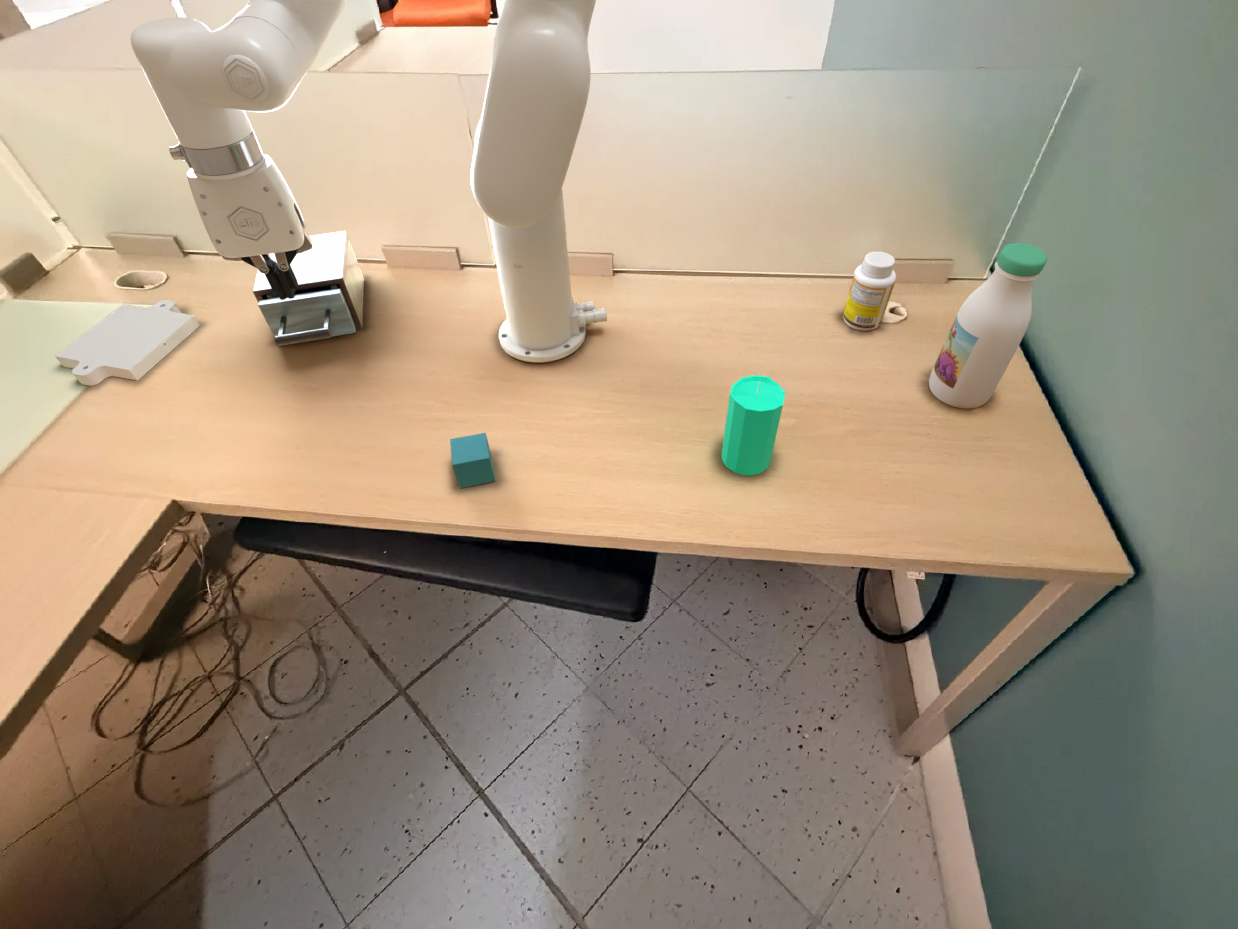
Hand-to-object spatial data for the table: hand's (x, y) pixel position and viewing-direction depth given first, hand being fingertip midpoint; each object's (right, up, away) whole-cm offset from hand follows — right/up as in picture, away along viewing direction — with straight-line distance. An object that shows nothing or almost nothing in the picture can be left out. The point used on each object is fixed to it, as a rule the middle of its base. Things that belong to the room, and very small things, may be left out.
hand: (288, 293), depth 87 cm
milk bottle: (+88, -13, -1) cm, 89 cm away
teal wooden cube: (+27, -24, -8) cm, 37 cm away
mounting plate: (-28, -5, +10) cm, 30 cm away
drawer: (-1, -2, +10) cm, 11 cm away
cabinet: (-2, +1, +15) cm, 15 cm away
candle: (+59, -22, -8) cm, 64 cm away
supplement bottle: (+80, -2, +10) cm, 80 cm away
